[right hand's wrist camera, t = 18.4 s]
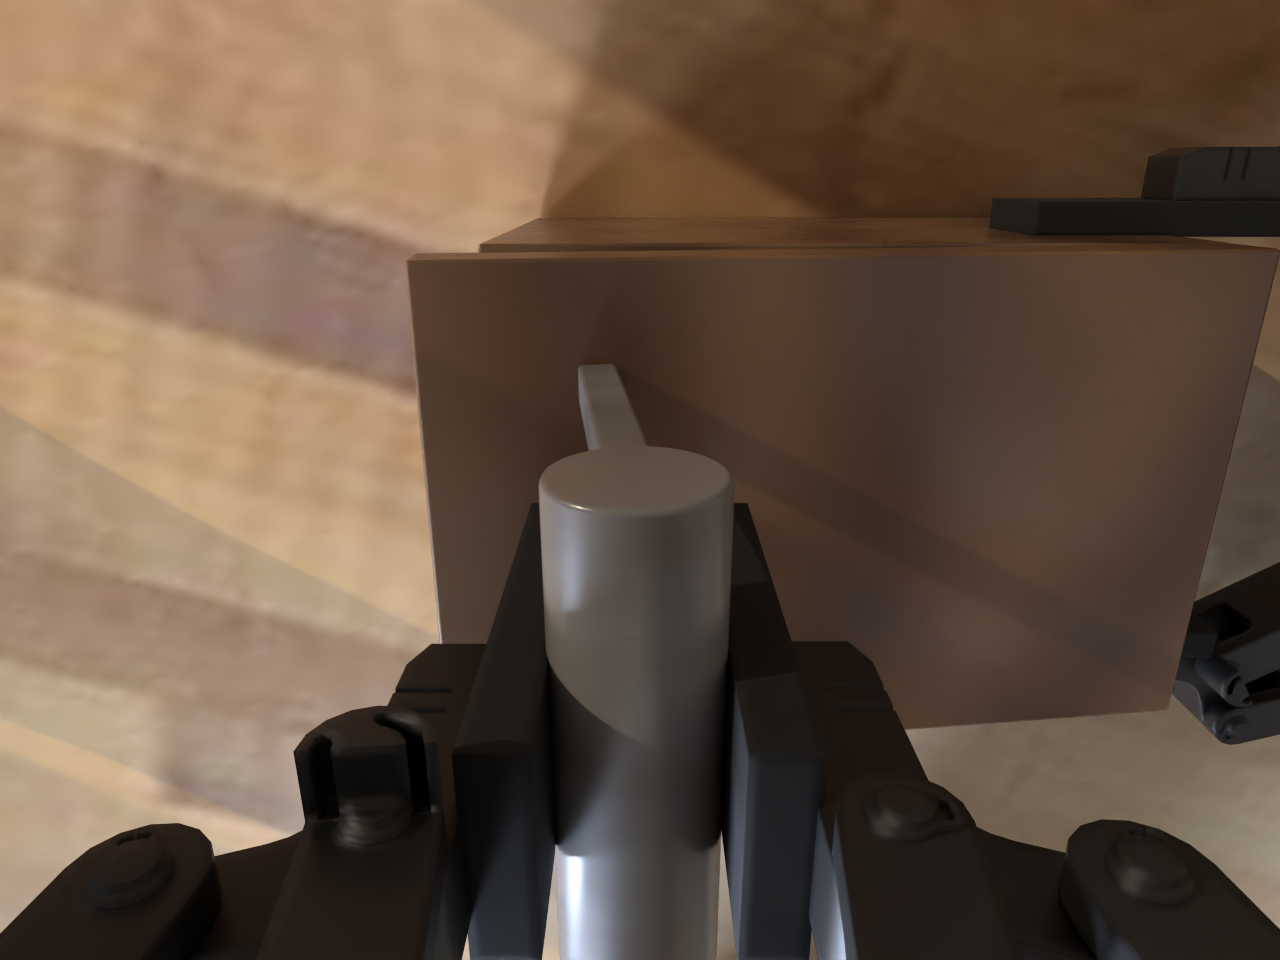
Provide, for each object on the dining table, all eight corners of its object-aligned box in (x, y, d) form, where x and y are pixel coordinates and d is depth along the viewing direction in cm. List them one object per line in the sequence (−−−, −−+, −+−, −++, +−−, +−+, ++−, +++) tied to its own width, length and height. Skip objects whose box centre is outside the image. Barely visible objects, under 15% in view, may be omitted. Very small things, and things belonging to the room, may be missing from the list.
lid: (455, 727, 19) (397, 1144, 11) (413, 253, 16) (280, 345, 7) (1132, 679, 21) (1516, 1008, 13) (1230, 243, 17) (1850, 309, 9)
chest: (549, 521, 30) (505, 675, 21) (536, 217, 27) (477, 243, 18) (986, 522, 30) (1134, 678, 21) (1031, 217, 27) (1232, 243, 17)
